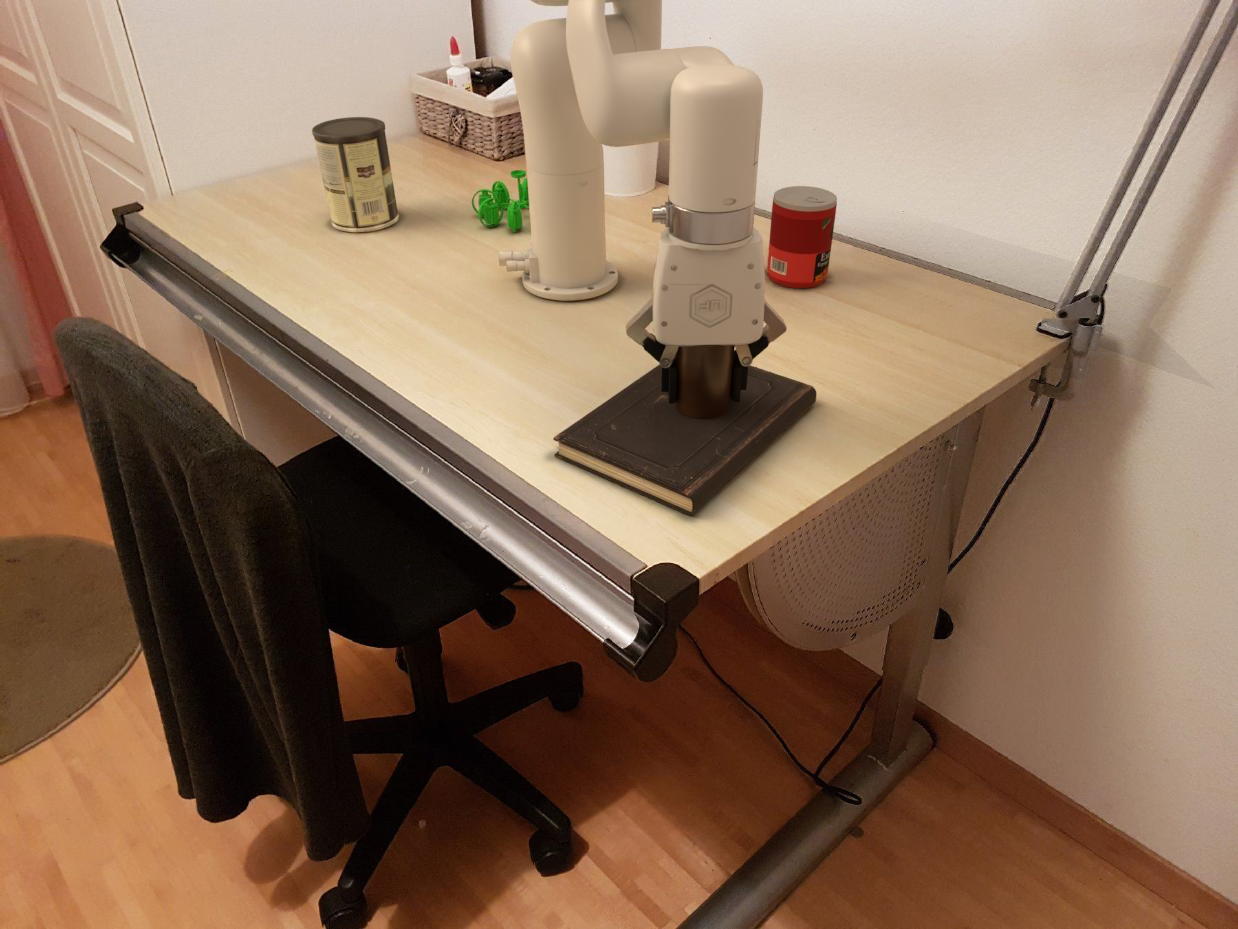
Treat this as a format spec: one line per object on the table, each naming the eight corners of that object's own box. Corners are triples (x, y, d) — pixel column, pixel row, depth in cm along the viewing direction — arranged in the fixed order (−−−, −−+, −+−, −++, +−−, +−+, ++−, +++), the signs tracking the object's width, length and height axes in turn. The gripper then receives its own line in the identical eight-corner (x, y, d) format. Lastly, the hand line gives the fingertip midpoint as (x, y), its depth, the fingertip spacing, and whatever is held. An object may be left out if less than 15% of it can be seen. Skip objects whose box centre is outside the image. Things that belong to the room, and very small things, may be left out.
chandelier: (576, 201, 146) (574, 157, 142) (563, 236, 134) (561, 190, 130) (483, 199, 148) (479, 156, 144) (462, 234, 135) (457, 188, 131)
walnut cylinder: (676, 420, 89) (678, 347, 85) (672, 390, 94) (674, 319, 89) (733, 418, 89) (739, 345, 85) (727, 389, 94) (731, 318, 89)
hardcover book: (554, 456, 88) (553, 437, 87) (687, 362, 103) (687, 344, 102) (693, 518, 80) (694, 497, 79) (815, 406, 95) (817, 387, 94)
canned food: (826, 291, 118) (837, 207, 112) (764, 286, 119) (771, 204, 113) (827, 267, 124) (837, 187, 118) (768, 263, 125) (775, 183, 119)
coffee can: (365, 204, 146) (349, 112, 138) (413, 216, 142) (399, 122, 134) (315, 224, 139) (296, 129, 131) (364, 237, 135) (347, 140, 127)
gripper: (613, 236, 77) (617, 418, 88) (816, 232, 78) (795, 414, 88) (612, 206, 84) (615, 379, 94) (800, 202, 84) (782, 375, 94)
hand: (702, 394), depth 91 cm, fingers closed on walnut cylinder, 5 cm apart
